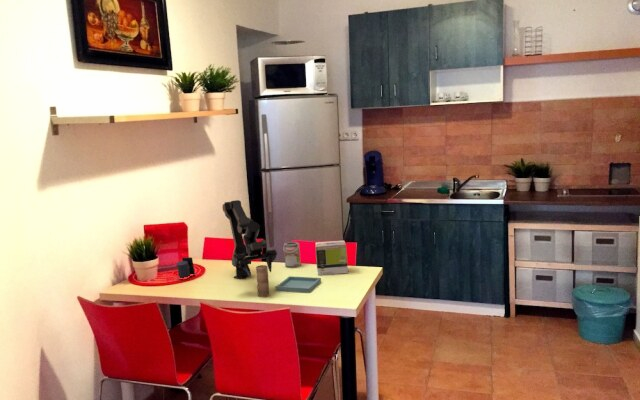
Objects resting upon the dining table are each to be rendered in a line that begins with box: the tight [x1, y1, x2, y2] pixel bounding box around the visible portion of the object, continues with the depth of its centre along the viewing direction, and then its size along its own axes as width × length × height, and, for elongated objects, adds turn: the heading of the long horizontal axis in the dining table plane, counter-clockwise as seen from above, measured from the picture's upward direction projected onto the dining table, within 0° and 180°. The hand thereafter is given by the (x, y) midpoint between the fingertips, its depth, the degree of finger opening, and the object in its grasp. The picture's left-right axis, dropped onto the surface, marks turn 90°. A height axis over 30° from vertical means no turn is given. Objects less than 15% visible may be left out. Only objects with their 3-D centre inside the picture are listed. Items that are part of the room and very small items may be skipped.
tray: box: [275, 275, 322, 294], centre depth 252 cm, size 16×16×2 cm
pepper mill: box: [255, 264, 270, 298], centre depth 241 cm, size 5×5×13 cm
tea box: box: [315, 240, 349, 276], centre depth 272 cm, size 15×10×15 cm
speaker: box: [176, 256, 196, 278], centre depth 275 cm, size 8×6×10 cm
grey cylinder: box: [282, 241, 301, 268], centre depth 286 cm, size 9×8×12 cm
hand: (260, 273), depth 243 cm, fingers open, 9 cm apart
